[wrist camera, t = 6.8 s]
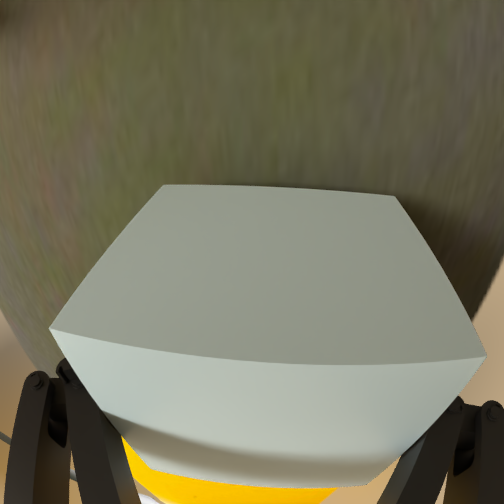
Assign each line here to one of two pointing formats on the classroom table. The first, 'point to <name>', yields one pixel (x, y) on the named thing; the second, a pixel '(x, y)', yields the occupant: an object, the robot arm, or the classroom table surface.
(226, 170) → the classroom table surface
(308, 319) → the rounded gray box
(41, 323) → the classroom table surface
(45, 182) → the classroom table surface
